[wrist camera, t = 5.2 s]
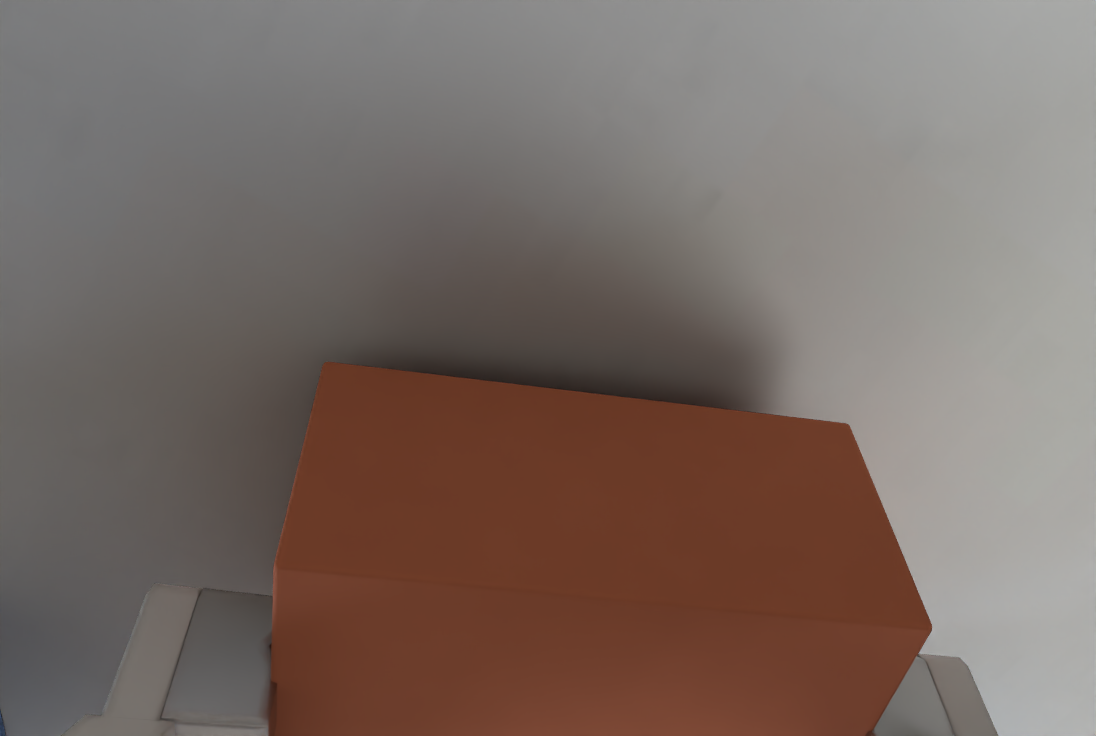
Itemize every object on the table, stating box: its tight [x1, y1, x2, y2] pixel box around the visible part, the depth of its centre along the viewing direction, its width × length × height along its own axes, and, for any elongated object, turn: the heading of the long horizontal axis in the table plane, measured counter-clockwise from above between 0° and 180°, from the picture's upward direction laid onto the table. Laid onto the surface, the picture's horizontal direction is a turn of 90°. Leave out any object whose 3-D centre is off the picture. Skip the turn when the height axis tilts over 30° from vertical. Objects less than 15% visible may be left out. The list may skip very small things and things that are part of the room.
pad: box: [271, 362, 932, 736], centre depth 12 cm, size 6×5×3 cm
